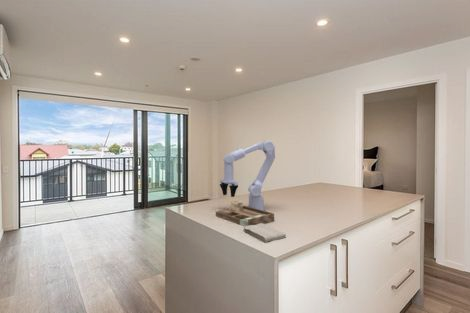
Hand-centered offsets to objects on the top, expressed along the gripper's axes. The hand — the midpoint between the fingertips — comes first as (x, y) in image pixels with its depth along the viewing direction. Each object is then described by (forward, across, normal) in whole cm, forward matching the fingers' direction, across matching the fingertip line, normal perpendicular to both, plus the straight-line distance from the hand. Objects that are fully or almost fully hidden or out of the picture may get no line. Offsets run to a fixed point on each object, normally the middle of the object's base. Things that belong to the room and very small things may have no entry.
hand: (228, 195), depth 152 cm
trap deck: (+9, +18, -4) cm, 21 cm away
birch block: (+7, +7, +1) cm, 10 cm away
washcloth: (+10, +42, -14) cm, 45 cm away
